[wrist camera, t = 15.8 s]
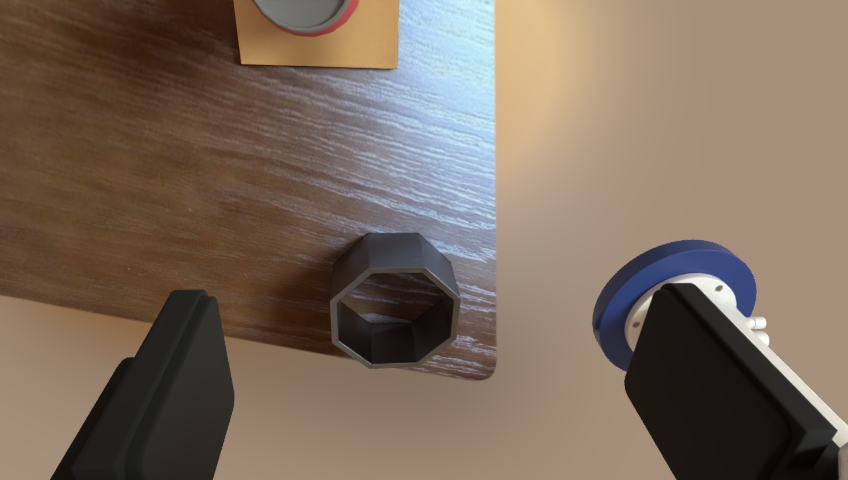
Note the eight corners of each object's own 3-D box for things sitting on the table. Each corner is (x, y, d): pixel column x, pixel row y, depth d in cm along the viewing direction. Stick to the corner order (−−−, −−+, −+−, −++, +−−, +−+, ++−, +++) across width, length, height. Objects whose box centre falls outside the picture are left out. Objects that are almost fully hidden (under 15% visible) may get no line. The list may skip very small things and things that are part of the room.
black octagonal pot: (453, 232, 49) (464, 266, 44) (445, 326, 55) (453, 365, 50) (331, 233, 48) (327, 268, 42) (336, 329, 53) (333, 370, 48)
